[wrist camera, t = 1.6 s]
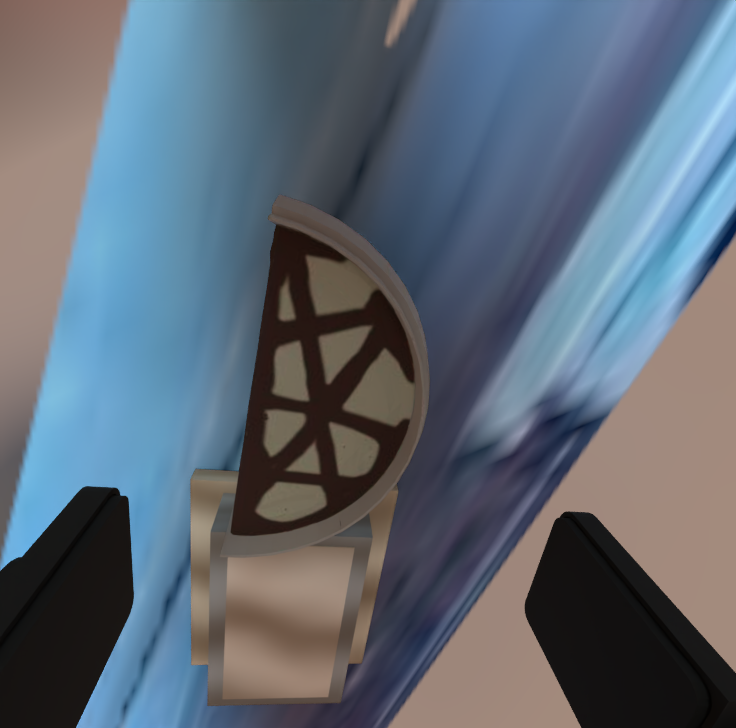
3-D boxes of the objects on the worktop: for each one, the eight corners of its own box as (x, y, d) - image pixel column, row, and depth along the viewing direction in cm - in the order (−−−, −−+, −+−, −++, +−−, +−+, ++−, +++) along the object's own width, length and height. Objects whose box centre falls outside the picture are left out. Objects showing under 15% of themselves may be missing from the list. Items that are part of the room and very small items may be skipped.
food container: (363, 439, 25) (388, 583, 15) (258, 423, 24) (218, 568, 14) (419, 226, 20) (500, 249, 11) (295, 195, 19) (271, 193, 10)
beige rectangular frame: (195, 468, 24) (172, 518, 20) (395, 480, 26) (408, 528, 22) (195, 650, 30) (177, 715, 26) (360, 649, 31) (365, 710, 28)
